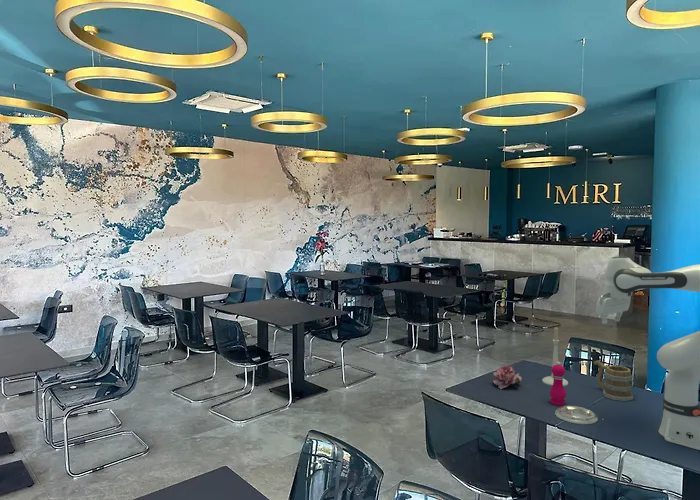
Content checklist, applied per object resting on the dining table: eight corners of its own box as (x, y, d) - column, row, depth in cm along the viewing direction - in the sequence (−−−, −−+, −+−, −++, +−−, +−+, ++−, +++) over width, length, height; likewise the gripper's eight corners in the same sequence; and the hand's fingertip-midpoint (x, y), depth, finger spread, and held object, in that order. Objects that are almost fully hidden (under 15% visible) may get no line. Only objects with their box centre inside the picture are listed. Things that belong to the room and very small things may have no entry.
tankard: (638, 398, 235) (639, 368, 234) (619, 402, 231) (620, 371, 230) (603, 385, 254) (604, 357, 253) (585, 389, 249) (585, 360, 248)
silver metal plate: (605, 418, 212) (605, 414, 212) (582, 427, 203) (582, 423, 203) (570, 406, 227) (570, 402, 227) (547, 414, 218) (547, 409, 218)
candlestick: (572, 386, 254) (573, 329, 252) (547, 386, 254) (548, 329, 252) (561, 378, 266) (563, 324, 264) (538, 378, 266) (539, 324, 265)
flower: (497, 373, 266) (498, 358, 262) (524, 382, 257) (526, 366, 253) (487, 388, 255) (487, 372, 251) (515, 398, 246) (516, 382, 243)
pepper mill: (567, 406, 226) (568, 364, 225) (551, 405, 228) (551, 363, 227) (564, 400, 234) (564, 359, 232) (548, 399, 235) (548, 359, 234)
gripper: (608, 296, 206) (603, 327, 208) (634, 291, 216) (630, 321, 219) (594, 292, 211) (590, 323, 214) (620, 288, 222) (616, 317, 224)
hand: (610, 322), depth 216 cm, fingers open, 8 cm apart
